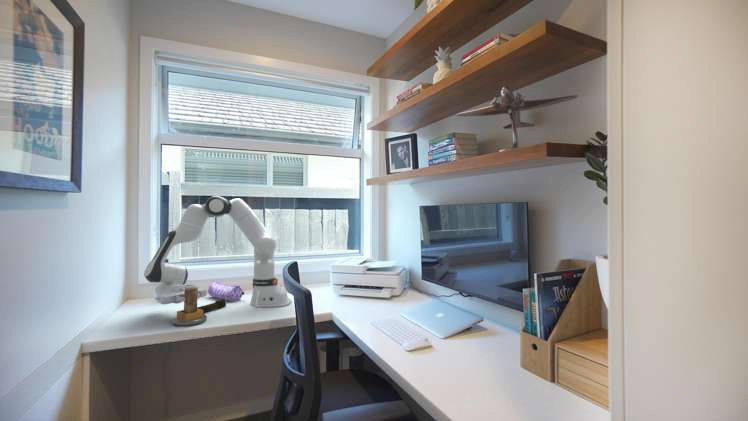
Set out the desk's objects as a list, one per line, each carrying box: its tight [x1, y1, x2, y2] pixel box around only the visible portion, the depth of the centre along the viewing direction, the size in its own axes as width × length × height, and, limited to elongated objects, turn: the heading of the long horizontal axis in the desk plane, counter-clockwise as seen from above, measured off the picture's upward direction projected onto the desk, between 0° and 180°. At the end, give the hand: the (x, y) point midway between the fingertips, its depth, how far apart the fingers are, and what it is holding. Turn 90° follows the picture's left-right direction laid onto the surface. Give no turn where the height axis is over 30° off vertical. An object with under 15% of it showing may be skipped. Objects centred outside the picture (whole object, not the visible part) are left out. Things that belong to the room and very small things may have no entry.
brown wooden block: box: [183, 287, 198, 313], centre depth 152 cm, size 4×4×14 cm
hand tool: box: [197, 298, 227, 313], centre depth 169 cm, size 19×4×5 cm, turn 152°
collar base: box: [171, 308, 208, 328], centre depth 152 cm, size 14×14×5 cm
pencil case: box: [207, 280, 245, 303], centre depth 193 cm, size 22×9×10 cm, turn 63°
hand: (191, 298), depth 151 cm, fingers open, 5 cm apart
